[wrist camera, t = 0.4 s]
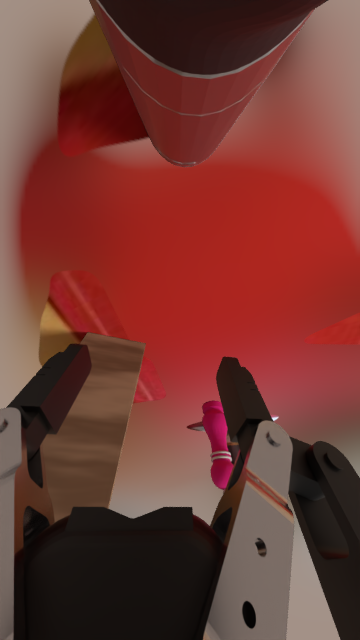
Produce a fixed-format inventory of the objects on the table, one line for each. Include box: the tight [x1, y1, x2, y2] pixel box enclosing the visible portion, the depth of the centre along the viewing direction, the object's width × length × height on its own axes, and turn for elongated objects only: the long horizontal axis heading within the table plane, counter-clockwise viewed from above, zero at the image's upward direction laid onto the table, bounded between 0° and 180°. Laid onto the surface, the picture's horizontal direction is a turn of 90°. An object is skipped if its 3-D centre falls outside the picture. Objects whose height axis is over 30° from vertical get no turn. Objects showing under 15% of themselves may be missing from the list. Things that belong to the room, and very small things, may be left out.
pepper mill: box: [202, 401, 234, 493], centre depth 43 cm, size 7×7×20 cm
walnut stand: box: [42, 332, 146, 522], centre depth 25 cm, size 12×12×34 cm
